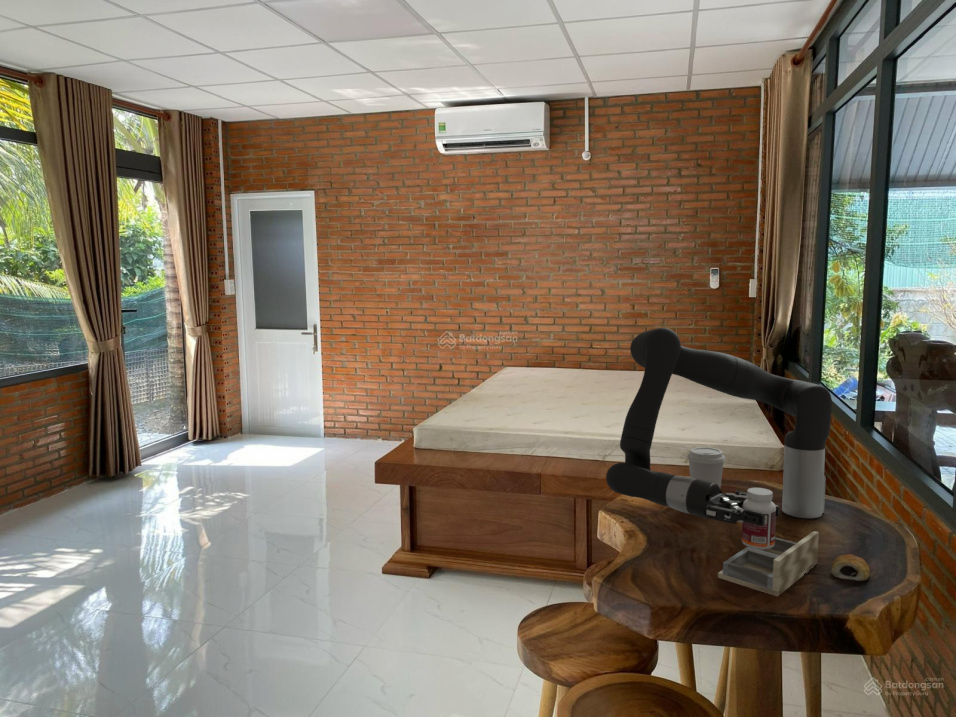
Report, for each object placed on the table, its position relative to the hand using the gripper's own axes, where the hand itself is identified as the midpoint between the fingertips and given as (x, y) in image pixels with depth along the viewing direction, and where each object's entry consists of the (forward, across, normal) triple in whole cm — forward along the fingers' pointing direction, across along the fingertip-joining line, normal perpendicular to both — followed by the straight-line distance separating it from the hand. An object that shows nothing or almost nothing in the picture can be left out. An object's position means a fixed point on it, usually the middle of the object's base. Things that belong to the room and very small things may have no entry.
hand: (771, 515), depth 138 cm
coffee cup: (-30, +32, +14) cm, 46 cm away
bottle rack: (-2, +5, +14) cm, 15 cm away
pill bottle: (-2, 0, +7) cm, 7 cm away
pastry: (+10, +15, +14) cm, 23 cm away
